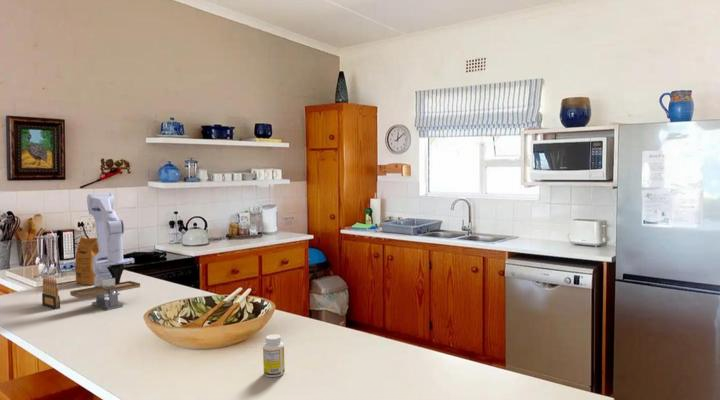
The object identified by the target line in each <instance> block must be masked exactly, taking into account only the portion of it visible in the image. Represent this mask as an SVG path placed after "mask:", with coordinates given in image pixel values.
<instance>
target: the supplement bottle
mask: <svg viewBox="0 0 720 400" xmlns="http://www.w3.org/2000/svg"><path fill="white" fill-rule="evenodd" d="M281 337H282V336H281V335H280V334H275V333H274V334H268V335H266V336H265V343H264V344H263V346H262V355H263V356H262V359H263V361H262V362H263V374H264V376H265V377H268V378H278V377H280V376H282V375H284V374H285V372H286V371H285V369H286V367H285V365H286V364H285V345H284V344H285V343H284V342H283V341H282V338H281Z"/></svg>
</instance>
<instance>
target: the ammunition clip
mask: <svg viewBox="0 0 720 400" xmlns="http://www.w3.org/2000/svg"><path fill="white" fill-rule="evenodd" d="M41 297H42V298H41V300H42V304H41V305H42V306H43V307H45V308H49V309H53V310H55V309H56V310H60V309H61V300H60V295H59V287H58V281H57V278H52V277H49V276H43V278H42V293H41Z"/></svg>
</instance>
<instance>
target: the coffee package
mask: <svg viewBox="0 0 720 400" xmlns="http://www.w3.org/2000/svg"><path fill="white" fill-rule="evenodd" d="M97 253H99V250H98V242H97V237H89V238H86V237H84V236H80V238H79V242H78V245H77V249H76V252H75V261H74V263H75V264H74V273H75V284H76V285H83V286H94V278H95V276H96V275H95V274H94V272H93V257H94V256H95V255H96V254H97ZM101 260H103V259H101Z"/></svg>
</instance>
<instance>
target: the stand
mask: <svg viewBox="0 0 720 400" xmlns="http://www.w3.org/2000/svg"><path fill="white" fill-rule="evenodd" d="M95 287H97V286H95ZM118 292H119V291H118V290H117V289H111V290H109V296H108V299H106V297H104V294H101V295H96V296H95V301H93V302H91V306H94V307H96V306H97V308H99V307H100V308H101V309H102V308H103V310H106V311H111V310H114V309H119V307H120V308H122V307H123V305H124V304H122V303H120V302H119V294H118ZM100 308H99V309H100Z"/></svg>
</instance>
